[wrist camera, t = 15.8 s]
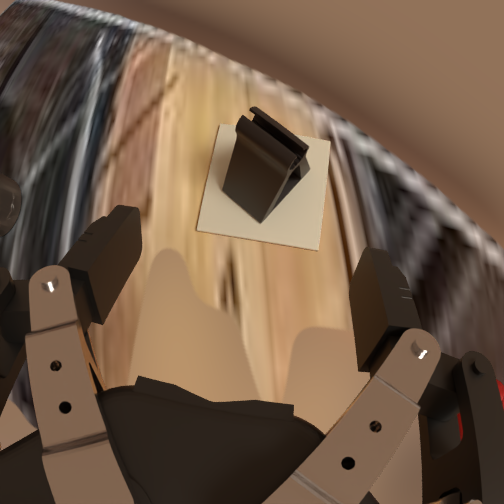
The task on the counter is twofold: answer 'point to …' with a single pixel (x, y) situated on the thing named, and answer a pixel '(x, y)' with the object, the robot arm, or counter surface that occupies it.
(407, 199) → the counter surface
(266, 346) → the counter surface
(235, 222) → the board
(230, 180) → the phone stand
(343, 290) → the counter surface
